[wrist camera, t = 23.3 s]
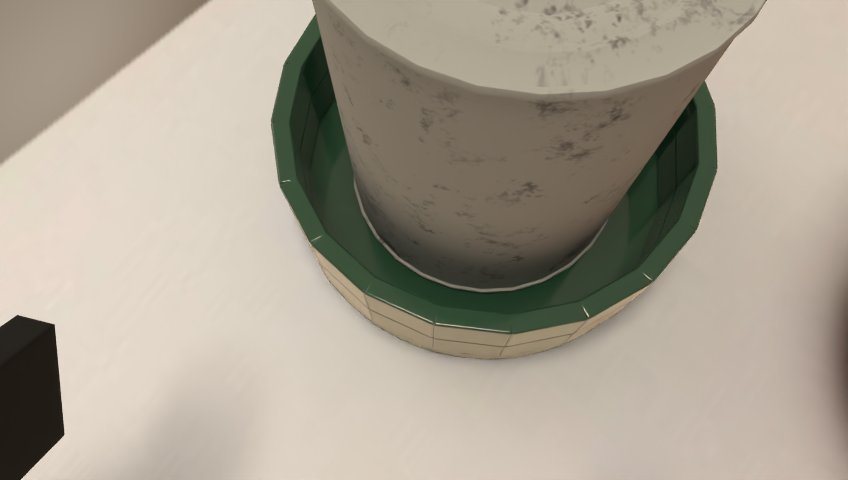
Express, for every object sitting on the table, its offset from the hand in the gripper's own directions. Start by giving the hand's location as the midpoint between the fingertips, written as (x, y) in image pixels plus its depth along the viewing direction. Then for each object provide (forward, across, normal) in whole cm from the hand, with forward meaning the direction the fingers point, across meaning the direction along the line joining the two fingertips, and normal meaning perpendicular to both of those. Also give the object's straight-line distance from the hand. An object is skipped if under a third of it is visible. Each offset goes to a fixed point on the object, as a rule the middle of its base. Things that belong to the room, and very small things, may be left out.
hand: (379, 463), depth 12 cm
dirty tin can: (+14, 0, +1) cm, 14 cm away
